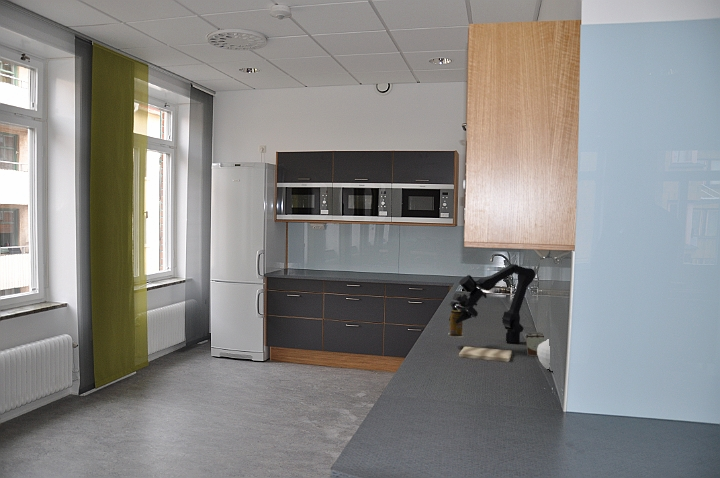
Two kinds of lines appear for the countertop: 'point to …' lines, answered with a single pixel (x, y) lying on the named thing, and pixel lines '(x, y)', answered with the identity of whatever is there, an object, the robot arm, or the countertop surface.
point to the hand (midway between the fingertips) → (452, 321)
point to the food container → (533, 342)
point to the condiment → (455, 328)
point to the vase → (544, 353)
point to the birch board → (485, 354)
